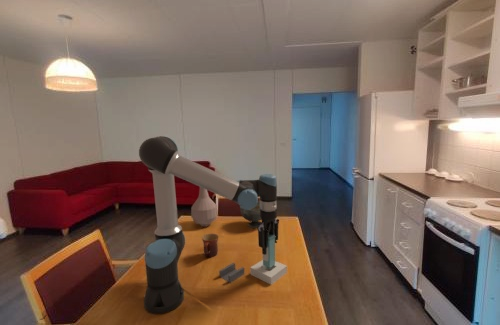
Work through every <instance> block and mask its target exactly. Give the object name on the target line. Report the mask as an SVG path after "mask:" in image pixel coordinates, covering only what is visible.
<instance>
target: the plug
mask: <svg viewBox="0 0 500 325" xmlns="http://www.w3.org/2000/svg"><path fill="white" fill-rule="evenodd" d="M275 237H276V236H275V235H272V234H269V235H268V243H267V247H268V262H267V261H265V260H263V259H262V260H263V265H265V266H267V267H269V268H270V267H272V266H273V265H275V261H276V243H275Z"/></svg>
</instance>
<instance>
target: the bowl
mask: <svg viewBox="0 0 500 325" xmlns="http://www.w3.org/2000/svg"><path fill="white" fill-rule="evenodd" d="M239 208H240V214H241V216H242V218H244V219H245V220H246V221H248V224H247V226H248V227H249V228H252V229H257V227H258V226H259V227H260V225H261V222H262V219H261V218H260V200H258V202H257V205H256V206H255V207H254V208H252V209H250V210H245V209H243V208H241V207H240V206H239Z"/></svg>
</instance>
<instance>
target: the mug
mask: <svg viewBox="0 0 500 325" xmlns="http://www.w3.org/2000/svg"><path fill="white" fill-rule="evenodd" d="M201 240H202V243H203V254H204V257H206V258H209V259H211V258H214V257H216V256H218V252H219V248H218V247H219V246H218V240H219V235H218V234H216V233H206V234H204V235H203V236H202V237H201Z"/></svg>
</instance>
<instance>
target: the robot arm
mask: <svg viewBox="0 0 500 325" xmlns="http://www.w3.org/2000/svg"><path fill="white" fill-rule="evenodd" d="M178 149H179V148H178V145H177V143H176V142H175V140H173V139H172V138H171V137H168V136H163V135H161V136H160V135H159V136H154V137H151V138H146V139H145V140H144V141H143V142H141V144H140V146H139V150H138V157H139V159H140V161H141V162H142V164H143V165H145V166H146V167H147V169H148V171H149V172H150V174H152V182H153V190H154V191H153V193H154V194H153V195H154V202H155V203H154V204H155V213H156V214H155V215H156V221H157V222H156V223H157V224H156V225H157V227H156V228H155V230H154V241H153V242H151V243H150V244H149V245H148V244H147V246H146V248H145V250H144V262H145V263H144V264H145V275H146V282H147V283H146V284H147V287H146V288H145V289H146V290H145V293H144V297H143V307H144V309H145V311H147V312H148V313H150V314H153V315H162V314H166V313H169V312H171V311H173V310H176V309H177V308H178V307H179V306H181V304H182V303H183V301H184V298H185V293H184V288H183V286H182V284H181V282H180V279H179V269H178V268H179V267H178V263H179V260H180V258H181V255H182V252H183V251H184V248H185V245H186V237H185V234H184V232H183V227H182V226H181V225H180V224H179V217H178V206H177V197H176V196H177V195H176V193H177V192H176V185H175V184H176V182H175V177H177V178H179V179H182V180H185V181H186V182H188V183H191V184H193V185H195V186H198V187H199V188H200V187H202V188H204V189H207V191H209V192H211V193H214V194H215V195H219V196H220V197H223V198H225V199H228V200H230V201H231V202H234V203H236V204H238V206H239V208H240V207H241V208H243V209H245V210H250V209H252V208H254V207H255V206H256V205H257V202H258V201H260V218H261V219H262V220H261V221H260V222H261V225H260V227H259V226H258V227H257V228H256V230H257V234H258V235H257V237H258V238H257V239H258V241H257V242H258V247H260V248H261V249H262V250H261V252H262V260H265V261H267V262H268V247H267V243H268V235H269V234H272V235H275V244H277V243H278V240H279V223H280V219H278V218H277V216H278V210H277V209H278V208H277V207H278V206H277V204H278V203H277V198H278V197H277V196H278V195H277V194H278V191H277V190H278V185H277V176H276V175H275V174H271V173H270V174H268V173H264V174H260V175H259V178H258V179H249V180H248V179H239V180H235V179H232V178H230V177H228V176H225V175H224V174H221V173H219V172H217V171H214V170H213V169H210V168H209V167H206V166H204V165H201V164H199V163H198V162H196V161H195V162H194V161H193V160H190V159H188V158H186V157H184V156H182V155H180V154H179V151H178Z"/></svg>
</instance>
